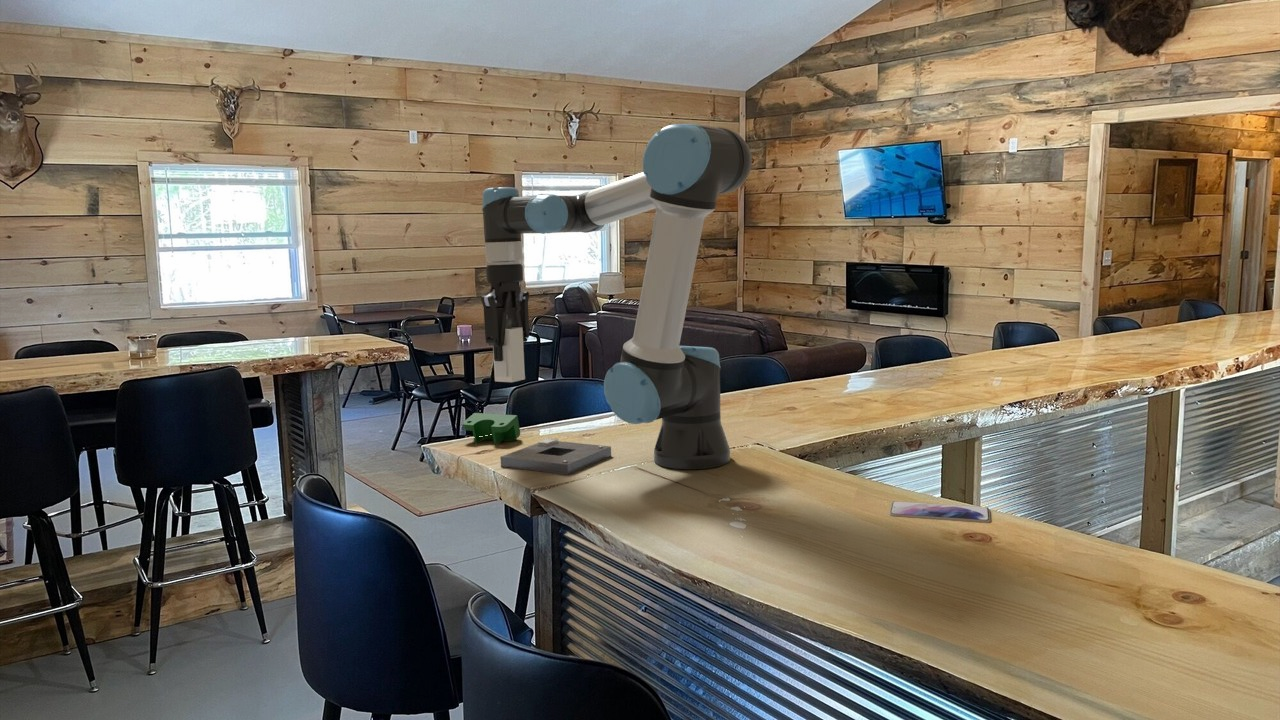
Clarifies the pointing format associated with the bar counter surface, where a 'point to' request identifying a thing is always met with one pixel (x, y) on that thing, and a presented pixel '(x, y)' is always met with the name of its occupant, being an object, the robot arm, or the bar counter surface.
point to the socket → (556, 456)
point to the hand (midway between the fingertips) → (509, 374)
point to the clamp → (493, 427)
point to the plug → (513, 354)
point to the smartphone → (940, 511)
